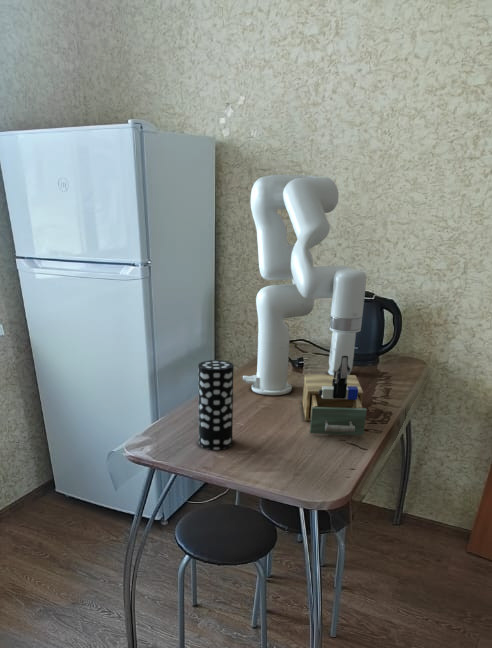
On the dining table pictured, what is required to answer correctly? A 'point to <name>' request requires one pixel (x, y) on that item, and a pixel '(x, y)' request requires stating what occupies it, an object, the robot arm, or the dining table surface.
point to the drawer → (336, 416)
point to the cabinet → (316, 382)
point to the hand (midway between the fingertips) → (338, 395)
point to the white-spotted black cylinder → (215, 404)
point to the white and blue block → (328, 394)
